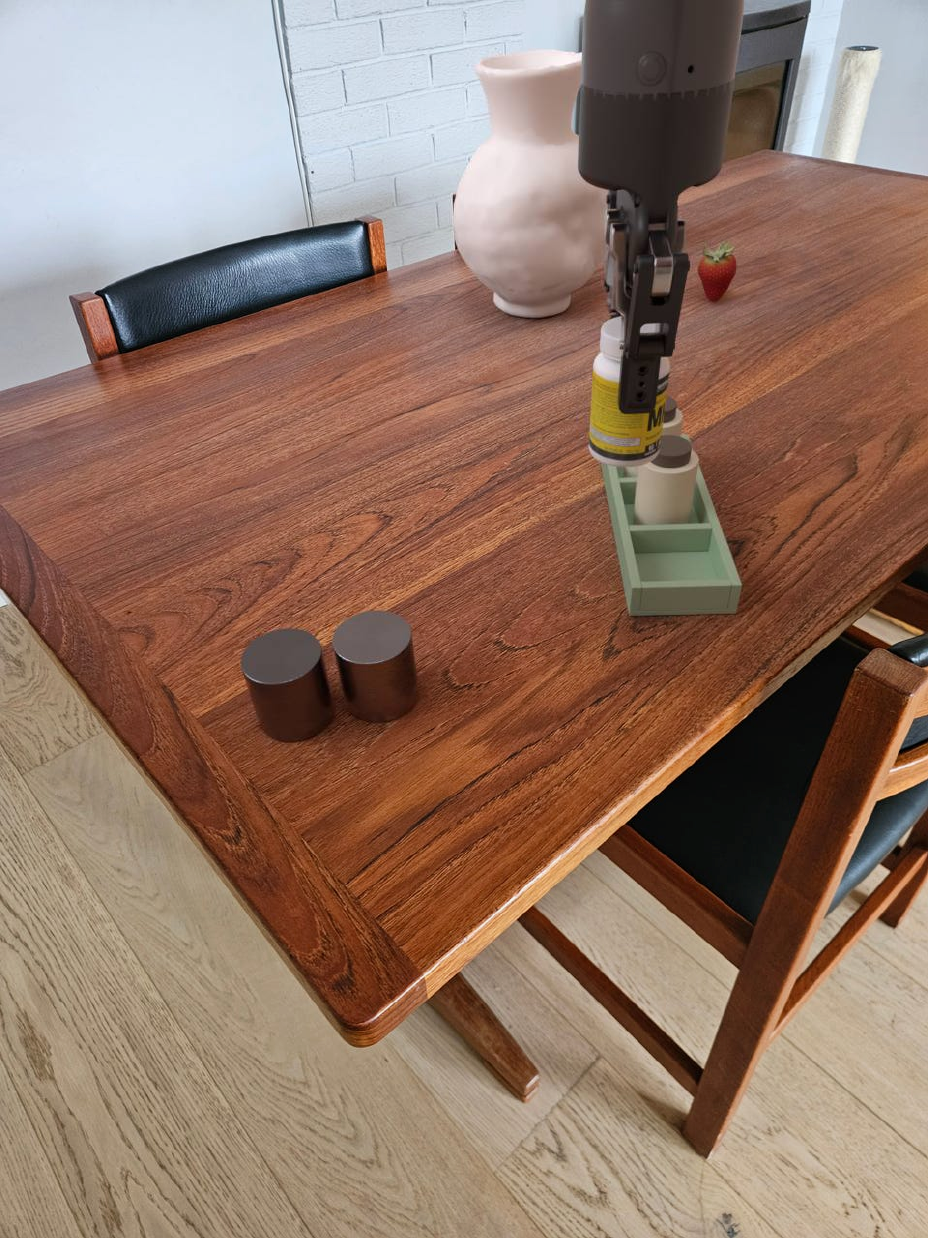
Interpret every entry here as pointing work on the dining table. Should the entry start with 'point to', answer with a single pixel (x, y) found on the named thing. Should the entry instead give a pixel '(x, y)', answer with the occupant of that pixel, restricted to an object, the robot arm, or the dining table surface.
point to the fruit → (717, 271)
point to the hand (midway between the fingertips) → (629, 389)
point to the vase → (530, 188)
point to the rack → (672, 555)
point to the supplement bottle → (611, 430)
